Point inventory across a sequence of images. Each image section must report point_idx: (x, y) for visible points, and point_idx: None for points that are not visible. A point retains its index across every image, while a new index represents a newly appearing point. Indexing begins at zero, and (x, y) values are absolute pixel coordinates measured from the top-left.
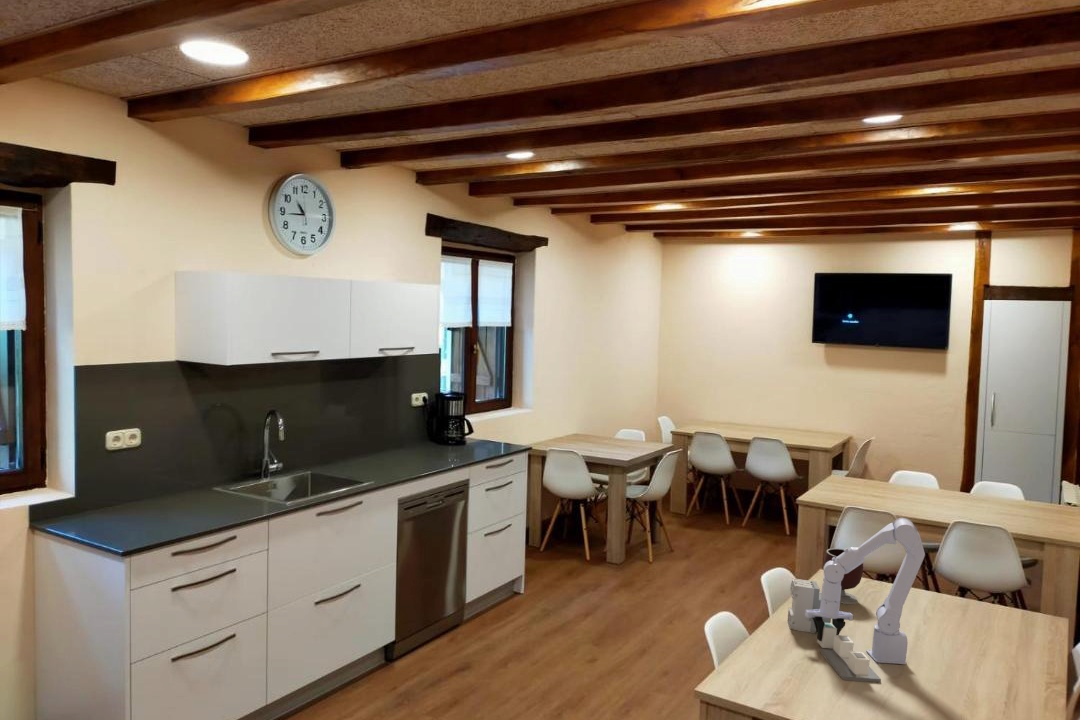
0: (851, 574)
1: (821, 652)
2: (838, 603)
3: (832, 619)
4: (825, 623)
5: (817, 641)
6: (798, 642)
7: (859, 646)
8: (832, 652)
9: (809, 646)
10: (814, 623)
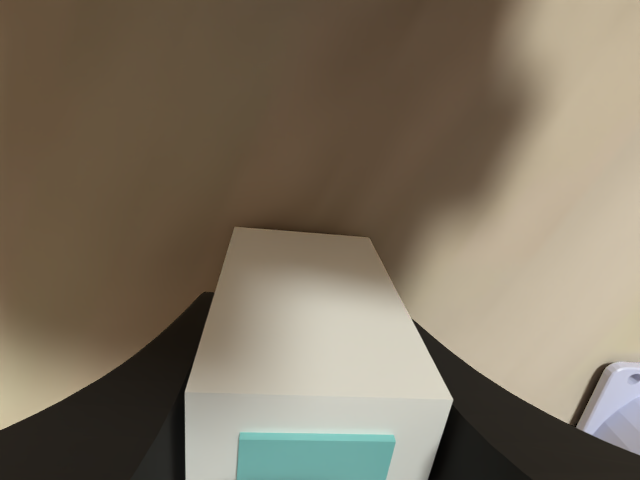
0: None
1: None
2: None
3: (503, 476)
4: (294, 452)
5: (233, 233)
6: (7, 229)
7: (631, 270)
8: None
9: (113, 310)
10: (71, 400)
